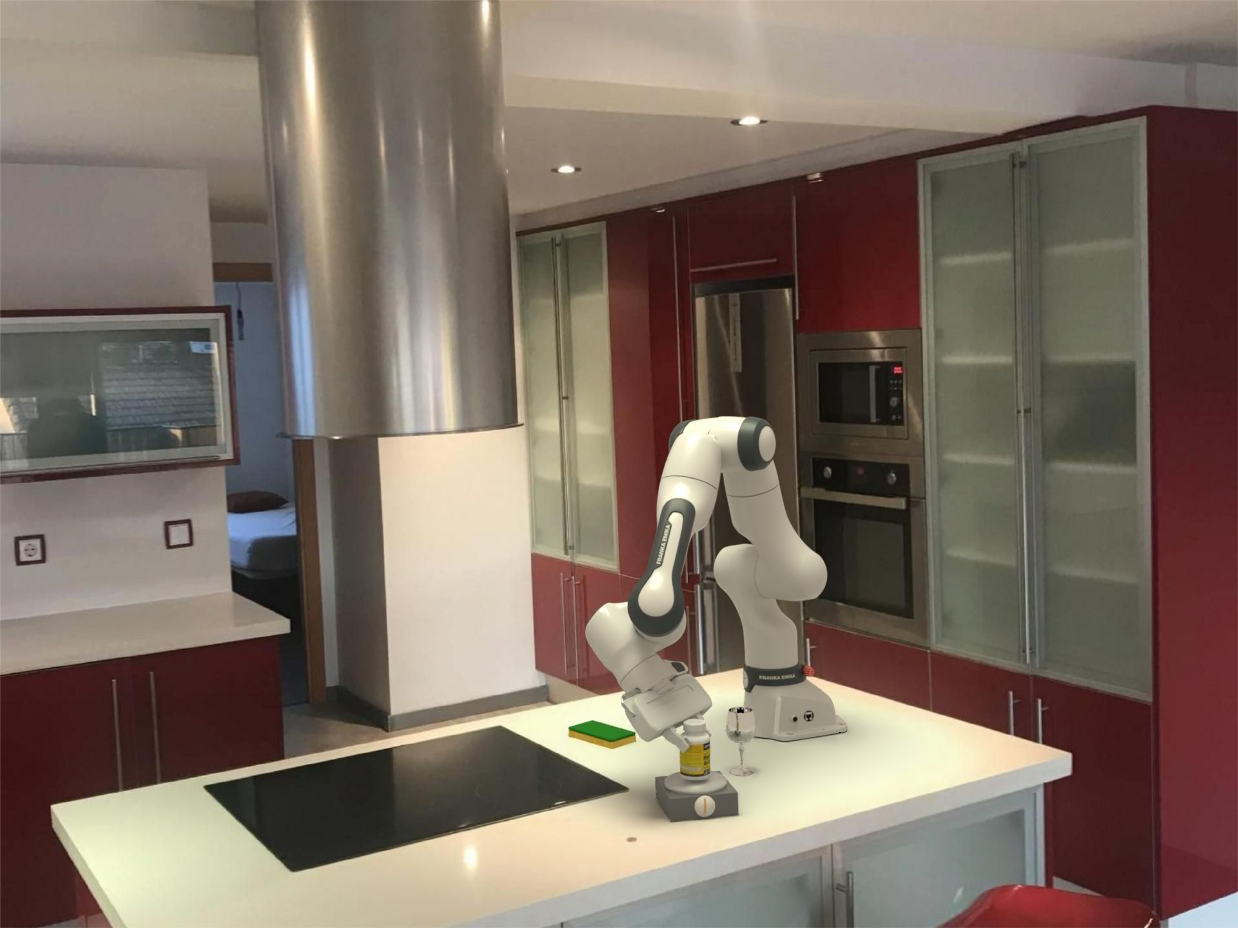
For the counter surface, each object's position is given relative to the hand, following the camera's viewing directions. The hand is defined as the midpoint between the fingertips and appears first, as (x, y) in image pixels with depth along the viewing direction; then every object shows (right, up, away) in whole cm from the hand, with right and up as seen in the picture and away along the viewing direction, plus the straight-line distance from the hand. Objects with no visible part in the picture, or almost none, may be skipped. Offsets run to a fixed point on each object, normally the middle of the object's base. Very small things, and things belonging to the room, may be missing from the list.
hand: (697, 744), depth 227 cm
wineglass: (+10, -10, +19) cm, 24 cm away
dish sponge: (-17, -9, +44) cm, 48 cm away
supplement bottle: (0, -6, +1) cm, 6 cm away
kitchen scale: (0, -11, +1) cm, 11 cm away
